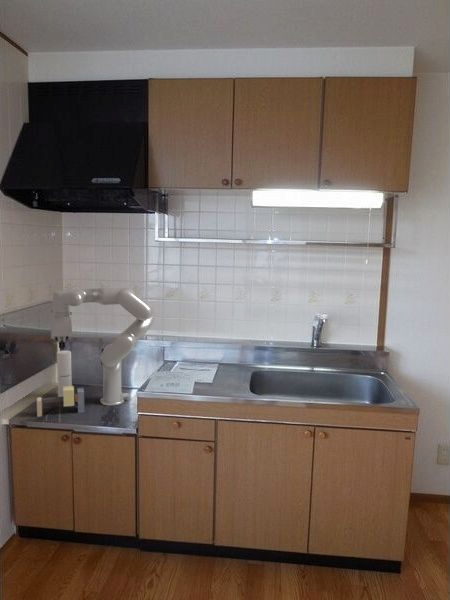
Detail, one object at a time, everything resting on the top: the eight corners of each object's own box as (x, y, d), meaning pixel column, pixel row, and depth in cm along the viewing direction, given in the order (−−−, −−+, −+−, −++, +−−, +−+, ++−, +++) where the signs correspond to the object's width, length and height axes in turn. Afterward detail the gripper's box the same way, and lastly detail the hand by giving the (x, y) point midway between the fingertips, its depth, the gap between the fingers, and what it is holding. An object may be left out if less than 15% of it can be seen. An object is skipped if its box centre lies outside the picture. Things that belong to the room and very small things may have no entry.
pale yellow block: (74, 401, 229) (73, 385, 228) (74, 405, 223) (74, 389, 222) (63, 402, 227) (63, 386, 226) (63, 406, 222) (63, 390, 220)
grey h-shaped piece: (83, 407, 231) (83, 387, 229) (84, 412, 226) (84, 391, 224) (37, 412, 224) (37, 391, 222) (37, 417, 218) (36, 395, 216)
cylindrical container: (67, 399, 242) (66, 354, 238) (55, 397, 243) (54, 353, 239) (74, 394, 248) (73, 351, 244) (62, 393, 250) (61, 350, 246)
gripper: (76, 312, 236) (76, 346, 239) (45, 313, 231) (46, 348, 234) (76, 315, 229) (77, 350, 232) (45, 316, 224) (46, 351, 227)
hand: (62, 349), depth 233 cm, fingers closed
